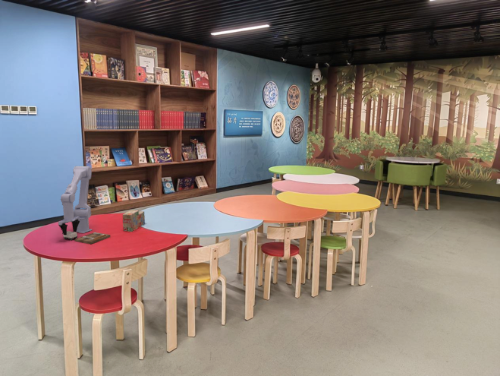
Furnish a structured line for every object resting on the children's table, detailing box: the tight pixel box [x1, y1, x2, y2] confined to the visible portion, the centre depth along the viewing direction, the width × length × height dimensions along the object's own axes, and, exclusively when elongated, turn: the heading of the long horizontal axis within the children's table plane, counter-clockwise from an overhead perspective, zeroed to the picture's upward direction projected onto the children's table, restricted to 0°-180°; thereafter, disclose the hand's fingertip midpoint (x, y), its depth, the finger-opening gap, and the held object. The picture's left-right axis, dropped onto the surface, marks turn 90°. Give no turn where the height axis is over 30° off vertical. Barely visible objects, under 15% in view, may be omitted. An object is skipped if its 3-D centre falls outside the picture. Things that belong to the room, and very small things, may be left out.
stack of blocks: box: [122, 209, 146, 233], centre depth 268 cm, size 21×6×12 cm, turn 171°
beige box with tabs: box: [62, 230, 78, 241], centre depth 241 cm, size 8×4×4 cm, turn 67°
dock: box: [73, 232, 111, 245], centre depth 241 cm, size 14×16×2 cm
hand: (70, 233), depth 240 cm, fingers open, 7 cm apart
